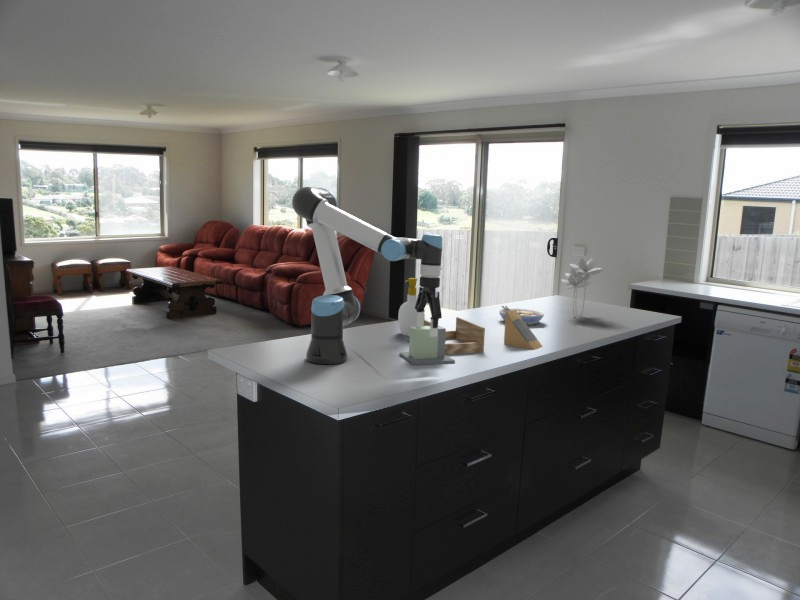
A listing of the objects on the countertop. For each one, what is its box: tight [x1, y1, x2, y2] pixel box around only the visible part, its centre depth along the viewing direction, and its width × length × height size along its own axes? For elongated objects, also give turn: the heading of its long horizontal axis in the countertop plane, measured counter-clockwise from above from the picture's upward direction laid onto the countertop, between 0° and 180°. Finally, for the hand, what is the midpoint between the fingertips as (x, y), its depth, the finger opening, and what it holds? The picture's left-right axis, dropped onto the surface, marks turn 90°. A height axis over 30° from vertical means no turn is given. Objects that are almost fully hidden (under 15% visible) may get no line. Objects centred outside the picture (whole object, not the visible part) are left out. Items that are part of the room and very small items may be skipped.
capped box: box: [408, 325, 447, 359], centre depth 224 cm, size 12×6×11 cm, turn 110°
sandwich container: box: [503, 310, 543, 350], centre depth 250 cm, size 9×15×15 cm, turn 49°
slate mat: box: [399, 351, 456, 366], centre depth 225 cm, size 16×16×1 cm
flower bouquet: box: [560, 256, 604, 318], centre depth 315 cm, size 17×34×21 cm
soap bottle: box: [397, 277, 426, 337], centre depth 264 cm, size 14×9×26 cm, turn 45°
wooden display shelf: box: [423, 316, 486, 355], centre depth 247 cm, size 18×25×10 cm
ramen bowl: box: [498, 305, 545, 326], centre depth 300 cm, size 25×23×8 cm
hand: (426, 332), depth 224 cm, fingers open, 13 cm apart
